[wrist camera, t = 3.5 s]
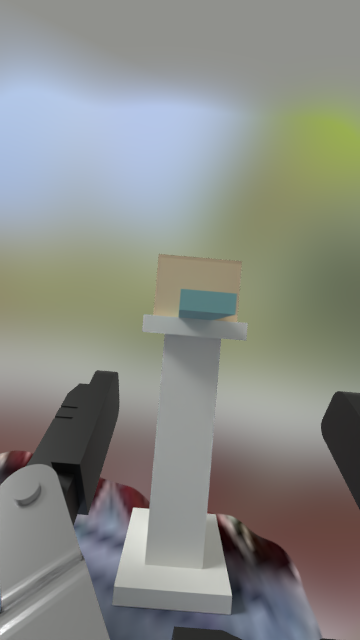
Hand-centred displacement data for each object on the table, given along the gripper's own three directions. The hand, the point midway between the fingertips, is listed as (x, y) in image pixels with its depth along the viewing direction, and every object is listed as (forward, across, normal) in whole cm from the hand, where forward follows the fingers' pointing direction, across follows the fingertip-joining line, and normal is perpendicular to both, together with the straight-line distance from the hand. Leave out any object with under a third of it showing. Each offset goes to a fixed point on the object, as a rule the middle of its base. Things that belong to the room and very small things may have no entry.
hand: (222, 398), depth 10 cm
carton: (+19, 0, +7) cm, 21 cm away
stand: (+9, 0, +38) cm, 39 cm away
